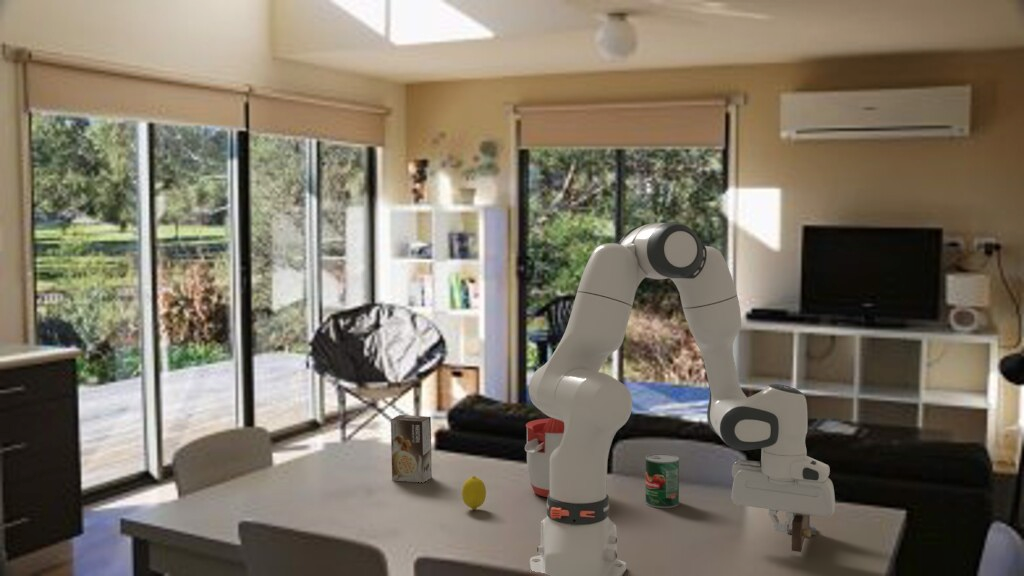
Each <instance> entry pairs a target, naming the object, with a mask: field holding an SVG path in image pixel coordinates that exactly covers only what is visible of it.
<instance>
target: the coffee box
mask: <svg viewBox="0 0 1024 576" xmlns="http://www.w3.org/2000/svg"><path fill="white" fill-rule="evenodd" d="M390 442H391V443H390V444H391V445H390V446H391V448H390V449H391V480H392V481H393V482H394V481H395V482H405V481H406V483H407V482H410V483H418V482H419V483H421V482H422V483H421V484H425V483H426V482H427V481H429V480H431V477H433V472H432V471H433V470H432V465H433V464H432V463H433V462H432V418H431V416H423V415H422V416H421V415H410V414H409V415H407V414H406V415H405V414H399V415H397V416H395V417H393V418H391V420H390ZM428 479H429V480H428ZM425 481H426V482H425ZM424 482H425V483H424Z"/></svg>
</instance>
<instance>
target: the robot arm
mask: <svg viewBox="0 0 1024 576" xmlns="http://www.w3.org/2000/svg"><path fill="white" fill-rule="evenodd" d="M648 278H649V279H652V280H665V279H666V280H667V279H670V280H671V281H672V282H673V284H674V285H675V286H676V288H677V290H678V292H679V296H680V302H681V306H682V311H683V314H684V317H685V321H686V323H687V326H688V329H689V331H690V333H691V335H692V337H693V339H694V341H695V344H696V345H697V347H698V349H699V352H700V354H701V357H702V361H703V366H704V370H705V375H706V379H707V384H708V389H709V401H708V405H707V411H706V417H707V422H708V425H709V427H710V428H711V430H712V431H713V433H715V434H716V435H717V436H719V437H720V439H721V440H722V441H723V442H724V443H725V444H726V445H727V446H728V447H730V448H731V449H734V450H737V451H741V452H742V451H753V450H758V449H759V450H760V449H761V450H760V451H761V454H760V455H761V457H760V458H761V459H760V461H759V460H757V461H755V460H747V459H739V460H738V461H737V460H736V461H735V462H734V463H733V464H732V467H731V475H732V479H733V483H732V489H731V497H730V498H731V501H732V502H733V503H734V505H737V506H743V507H744V506H745V507H751V508H756V509H757V508H758V509H764V510H765V509H766V510H768V516H769V517H770V519H771V521H772V523H773V531H774V532H779V533H784V534H785V533H786V534H787V533H788V531H789V524H791V523H792V521H793V517H794V516H795V513H799V514H805V515H810V516H813V517H821V518H826V519H827V518H828V519H829V518H830V517H831V516H833V515H834V513H835V511H836V510H835V509H836V497H835V495H836V494H835V489H834V484H833V481H832V480H831V479H830V478H829V475H830V472H831V470H830V469H831V468H830V466H829V464H826V463H824V462H822V461H821V460H820V461H819V460H817V459H814V458H813V457H810V456H809V455H807V454H808V453H807V452H808V451H807V447H806V437H807V433H808V427H809V426H808V403H807V399H806V396H805V395H804V393H803V392H801V391H800V390H798V389H797V388H794V387H791V386H788V385H784V384H779V383H778V384H777V383H772V384H768V385H767V386H765V388H763V389H762V390H760V391H758V392H757V393H754V394H753V395H751V396H747V395H746V394H745V393H744V391H743V389H742V387H741V384H740V381H739V376H738V375H739V374H738V371H737V366H736V362H735V358H734V351H733V349H734V347H733V346H734V343H735V340H736V337H737V336H738V335H739V333H740V331H741V328H742V316H741V315H742V314H741V306H740V300H739V297H738V293H737V290H736V285H735V281H734V279H733V276H732V273H731V271H730V268H729V267H728V265H727V262H726V260H725V257H724V256H723V254H722V253H721V251H720V250H719V249H717V248H716V247H713V246H708V245H704V244H703V242H702V241H701V239H700V238H699V236H698V235H697V233H696V232H695V231H694V230H693V229H692V228H691V227H689V226H688V225H686V224H683V223H679V222H676V221H675V222H672V221H671V222H669V221H668V222H652V223H648V224H644V225H639V226H635V227H634V228H632V229H630V230H629V231H628V232H627V233H625V234H624V235H623V237H622V238H621V239H620V240H619V241H618V242H617V243H614V242H611V243H610V242H607V243H604V244H600V245H598V246H597V247H595V248H594V249H593V250H592V253H591V255H590V257H589V259H588V261H587V263H586V266H585V268H584V270H583V273H582V274H581V278H580V280H579V284H578V287H577V291H576V295H575V297H574V298H575V299H574V301H573V305H572V309H571V312H570V315H569V319H568V323H567V326H566V328H565V331H564V333H563V335H562V338H561V339H560V341H559V343H558V345H557V347H556V348H555V350H554V352H553V353H552V355H551V357H550V358H549V359H548V360H547V362H545V364H543V365H542V366H540V367H538V369H536V371H535V372H534V373H533V374H532V375H531V378H530V380H529V385H528V396H529V399H530V401H531V402H532V404H533V406H535V408H537V409H538V410H539V411H541V412H542V413H543V414H544V415H546V416H547V417H549V418H554V419H557V420H560V421H563V422H564V426H565V427H564V434H563V438H562V441H561V444H560V446H559V447H557V448H556V449H555V450H554V451H553V452H552V454H551V456H550V493H549V494H548V497H546V499H547V500H546V517H544V518H543V520H541V521H540V545H538V546H537V547H536V549H537V554H540V555H534V556H531V557H530V558H529V569H531V570H532V571H535V572H541V573H545V574H548V575H550V576H623V575H624V574H625V572H626V570H627V563H626V561H623V560H620V559H618V548H617V547H618V538H617V534H618V533H617V525H616V524H615V522H613V521H612V520H611V518H610V517H609V514H610V499H609V495H608V493H607V491H608V489H607V488H608V487H607V485H608V484H607V483H608V462H609V461H608V459H609V455H610V449H611V446H612V442H613V439H614V437H615V436H616V433H617V432H618V431H619V430H620V429H621V428H622V427H624V425H626V423H627V422H628V421H629V419H630V416H631V414H632V410H633V398H632V394H631V391H630V389H629V388H628V387H627V385H625V384H624V383H622V382H621V381H620V380H618V379H616V378H614V377H613V376H611V375H610V374H608V373H604V372H600V370H601V369H602V366H603V365H604V363H605V361H606V360H607V358H608V357H609V356H610V355H611V354H613V353H614V352H616V351H617V350H619V348H621V346H622V344H623V343H624V339H625V336H626V331H627V327H628V323H629V320H630V316H631V311H632V308H633V305H634V301H635V297H636V293H637V290H638V287H639V286H640V284H641V282H642V281H643V280H644V279H648ZM779 511H780V512H785V513H786V514H785V516H786V517H787V520H786V521H781V520H780V519H779V518H778V516H777V513H778V512H779ZM531 570H530V571H531Z"/></svg>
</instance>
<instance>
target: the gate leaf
mask: <svg viewBox="0 0 1024 576" xmlns="http://www.w3.org/2000/svg"><path fill="white" fill-rule="evenodd" d="M791 524H792V534H791V552H798V553H802V551H803V544H804V542H805V538H811V537H812V535H811V530H808V515H805V514H799V513H796V514H795V516H794V518H793V519H792V520H791Z"/></svg>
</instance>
